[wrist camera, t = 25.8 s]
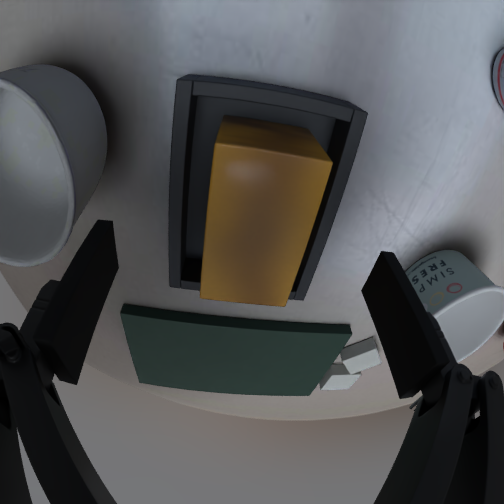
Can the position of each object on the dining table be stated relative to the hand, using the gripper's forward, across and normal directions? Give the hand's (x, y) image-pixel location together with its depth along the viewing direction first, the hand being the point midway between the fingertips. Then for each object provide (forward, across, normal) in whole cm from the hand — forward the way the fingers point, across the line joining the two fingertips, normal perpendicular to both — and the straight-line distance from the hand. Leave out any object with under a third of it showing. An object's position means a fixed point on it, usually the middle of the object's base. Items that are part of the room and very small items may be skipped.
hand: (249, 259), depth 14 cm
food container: (+7, +19, -7) cm, 22 cm away
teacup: (+8, -15, +2) cm, 17 cm away
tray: (+7, 0, 0) cm, 7 cm away
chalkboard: (+7, +1, -20) cm, 21 cm away
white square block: (+7, +16, -18) cm, 25 cm away
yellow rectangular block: (+7, 0, 0) cm, 7 cm away
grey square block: (+7, +15, -22) cm, 28 cm away
